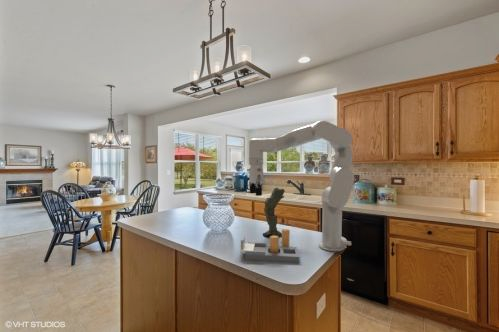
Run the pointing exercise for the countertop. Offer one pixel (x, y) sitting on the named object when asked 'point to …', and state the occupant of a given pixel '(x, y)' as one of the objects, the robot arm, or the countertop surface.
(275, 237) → the orange rounded capsule
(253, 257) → the housing
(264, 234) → the green twisted sculpture
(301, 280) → the countertop surface
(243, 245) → the lid
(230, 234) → the countertop surface
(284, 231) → the orange rounded peg
